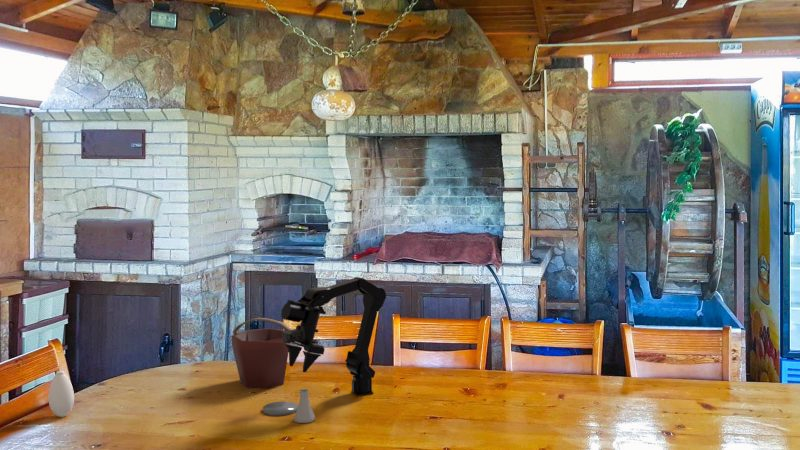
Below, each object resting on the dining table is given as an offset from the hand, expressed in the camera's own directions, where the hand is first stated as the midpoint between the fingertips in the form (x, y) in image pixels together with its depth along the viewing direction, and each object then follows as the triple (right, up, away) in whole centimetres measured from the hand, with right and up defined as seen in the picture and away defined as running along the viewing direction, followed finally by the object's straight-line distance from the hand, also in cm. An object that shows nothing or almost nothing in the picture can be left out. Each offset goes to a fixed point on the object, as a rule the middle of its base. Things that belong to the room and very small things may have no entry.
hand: (297, 369), depth 258 cm
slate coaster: (-6, -14, -1) cm, 15 cm away
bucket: (-17, -11, +31) cm, 37 cm away
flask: (+4, -15, -11) cm, 19 cm away
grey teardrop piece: (-78, -15, -6) cm, 80 cm away
